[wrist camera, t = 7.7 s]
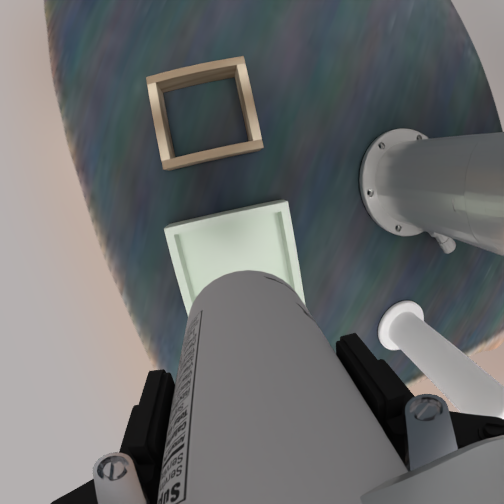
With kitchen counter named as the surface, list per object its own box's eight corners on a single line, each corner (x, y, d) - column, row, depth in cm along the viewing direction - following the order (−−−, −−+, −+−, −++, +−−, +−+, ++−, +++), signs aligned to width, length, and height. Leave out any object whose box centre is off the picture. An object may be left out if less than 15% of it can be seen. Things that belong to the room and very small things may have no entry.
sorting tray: (300, 304, 36) (306, 314, 33) (196, 326, 35) (195, 339, 32) (281, 199, 33) (287, 201, 30) (168, 224, 32) (163, 228, 29)
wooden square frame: (258, 151, 31) (263, 147, 28) (170, 170, 31) (163, 169, 27) (240, 69, 29) (243, 56, 25) (154, 88, 29) (146, 77, 25)
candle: (386, 357, 39) (492, 484, 15) (369, 320, 37) (496, 456, 13) (426, 328, 39) (546, 432, 15) (413, 289, 37) (557, 392, 13)
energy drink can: (296, 362, 18) (396, 606, 3) (192, 365, 17) (177, 637, 3) (305, 264, 16) (522, 517, 2) (186, 264, 16) (94, 606, 1)
